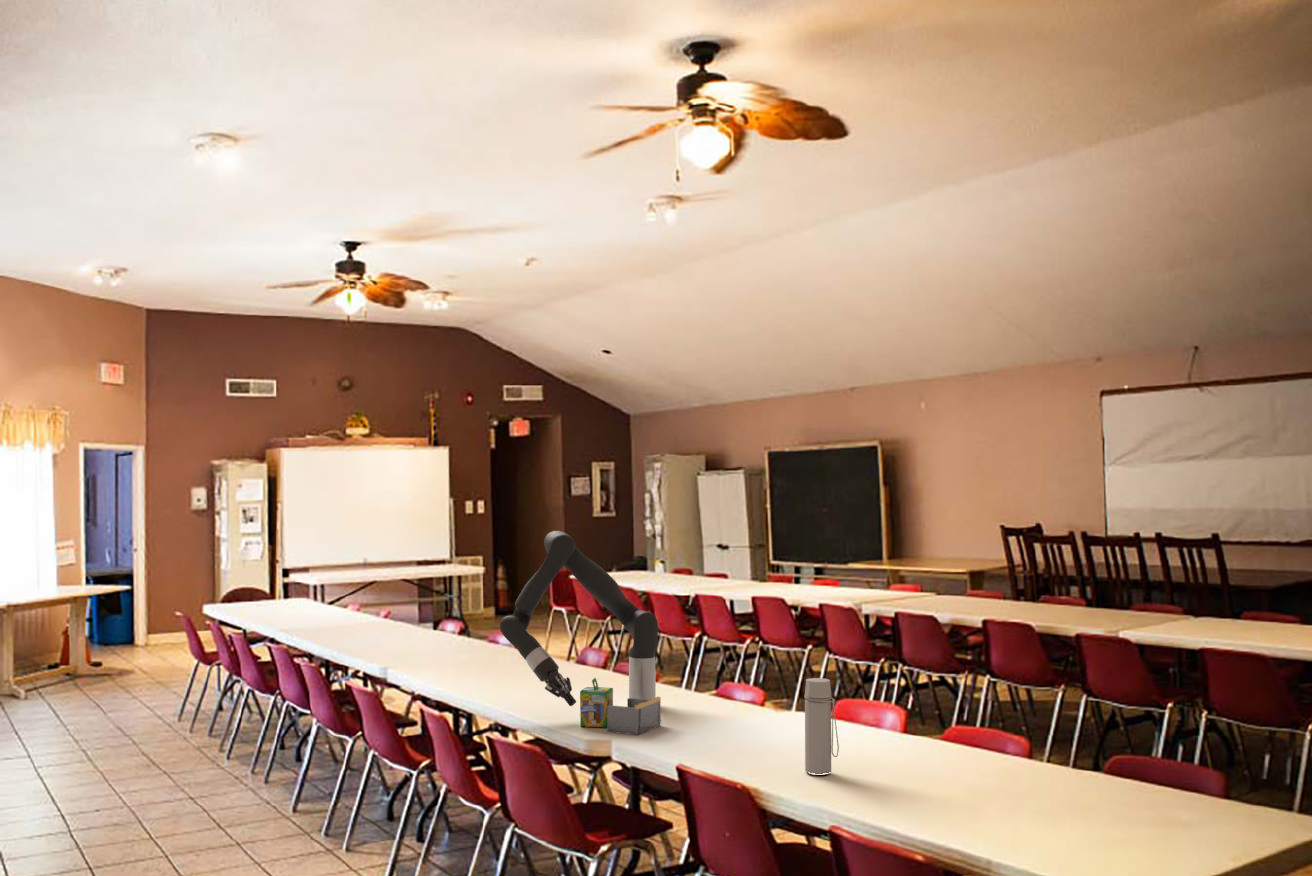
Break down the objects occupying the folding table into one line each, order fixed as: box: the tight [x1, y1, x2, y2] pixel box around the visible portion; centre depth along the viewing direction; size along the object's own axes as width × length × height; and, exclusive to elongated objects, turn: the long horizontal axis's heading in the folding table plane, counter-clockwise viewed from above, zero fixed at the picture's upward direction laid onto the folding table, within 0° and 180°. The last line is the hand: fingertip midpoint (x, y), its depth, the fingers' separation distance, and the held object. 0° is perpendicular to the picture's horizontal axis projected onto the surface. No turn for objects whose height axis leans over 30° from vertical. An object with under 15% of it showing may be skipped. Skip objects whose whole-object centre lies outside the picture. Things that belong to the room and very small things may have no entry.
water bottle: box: [804, 677, 840, 774], centre depth 308 cm, size 9×8×25 cm
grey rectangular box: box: [606, 696, 662, 736], centre depth 365 cm, size 16×11×9 cm
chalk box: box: [579, 677, 614, 728], centre depth 371 cm, size 9×9×15 cm
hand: (573, 704), depth 375 cm, fingers closed
